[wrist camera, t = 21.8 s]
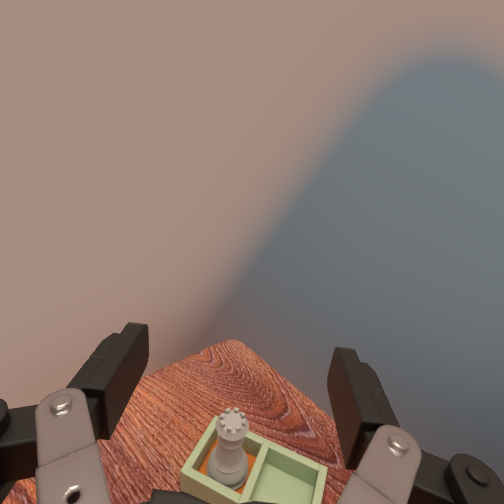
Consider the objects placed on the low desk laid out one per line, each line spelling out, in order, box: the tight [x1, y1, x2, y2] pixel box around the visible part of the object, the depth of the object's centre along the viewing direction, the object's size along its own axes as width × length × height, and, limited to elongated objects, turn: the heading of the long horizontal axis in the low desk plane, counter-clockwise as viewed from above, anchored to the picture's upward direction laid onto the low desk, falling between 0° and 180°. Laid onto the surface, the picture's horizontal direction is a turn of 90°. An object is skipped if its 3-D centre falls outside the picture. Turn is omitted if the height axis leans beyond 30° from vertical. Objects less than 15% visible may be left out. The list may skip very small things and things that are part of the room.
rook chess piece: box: [207, 407, 249, 491], centre depth 31 cm, size 4×4×8 cm
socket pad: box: [180, 416, 328, 504], centre depth 32 cm, size 13×7×3 cm, turn 67°
